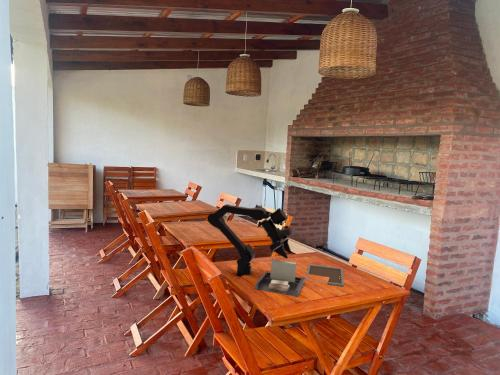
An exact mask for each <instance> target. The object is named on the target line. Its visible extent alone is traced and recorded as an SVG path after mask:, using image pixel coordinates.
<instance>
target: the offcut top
mask: <svg viewBox="0 0 500 375" xmlns="http://www.w3.org/2000/svg"><path fill="white" fill-rule="evenodd" d="M270 286H276V287H284V288H287V287H288V282H287V281H279V280H271V284H270Z"/></svg>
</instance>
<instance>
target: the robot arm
mask: <svg viewBox="0 0 500 375" xmlns="http://www.w3.org/2000/svg"><path fill="white" fill-rule="evenodd" d="M226 214H233V215H239V216H245V217H249V218H251V219H253V220H255V221H258V222H257V228H260V227H262V229H263V230H264V231H265V233H266V234H267V235H266V237H267V238H270V241H271V243H270V245H269V249H270V251H271V252H274V253H276V254H277V255H279V256H281V257H283V258H285V259H286V260H287V259H288V258H289V257H288V254H292V250H291V247H290V244H289V239H290V238H289V237H290V236H291V235H292V234H293V232H292V228H291V227H290V226H289V225H285V226H284V228H282V229H280V227H278V226H279V225H280V224H282V223H283V222H285V221H286V220H288V216H287V214H286V212H284V210H282V209H281V208H280V207H279V208H277V209H276V210H275V211H273V212H271V211H268V210H267V209H266V208H265V207H244V206H238V205H232V204H227V203H226V204H224V205H222V206H221V207H220V208H219V209H217V210H216V211H214V212H211V213H209V214H208V215H207V223H208V224H210V225H211V226H212V227H213V228H215V229H218V230H219V231H220V232H221V233H222V234H223V236H224V237H225V238H226V239H227V240H228V241H229V243H230V244H231V245H232V246H233V247H234V248H235V249H236V250H237V253H238V256H239V258H238V259H237V260H236V264H237V267H236V268H237V270H236V273H235V276H237V277H238V276H240V277H244V276H246V275H249V276H250V275H251V274H252V265H251V264H252V263H251V261H253V259H254V258H255V256H256V251H255V248H254V247H252V245H251V244H250V243H248V244H245V243H244V242H243V241H242V240H241V239H240V238H239V236H237V234H236V233H235V232H234V231H233V230H232V229H231V228H230V227H229V225H228V224H227V223H226V219H225V218H224V216H225V215H226ZM276 225H277V226H276ZM287 253H288V254H287Z"/></svg>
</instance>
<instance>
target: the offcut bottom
mask: <svg viewBox="0 0 500 375" xmlns="http://www.w3.org/2000/svg"><path fill="white" fill-rule="evenodd" d="M270 284H271V283H270ZM289 287H290V285H288V287H287V288H284V287H276V286H270V285H269V289H275V290H281V291H286V292H287V291H288V290H289Z"/></svg>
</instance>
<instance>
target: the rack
mask: <svg viewBox="0 0 500 375" xmlns="http://www.w3.org/2000/svg"><path fill="white" fill-rule="evenodd" d="M270 275H271V272H269V271H268V270H265V271H264V272H263V274H262V275H261V276H260V277H259V279H258V280H257V281H256V282H255V286H254V290H255V291H256V290H257V291H262V292H268V293H274V294H279V295H285V296H288V297H289V296H291V297H295V298H298V297H299V295H300V293H301V291H302V289H303V287H304V285H305V280H306V276H302V277H300V276H295V282H289V281H287V282H288V285H290V287H289V290H288V291H287V292H286V291H281V290H275V289H269V285H270V283H271V280H277V279H271V278H270ZM279 281H283V280H279Z"/></svg>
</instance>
